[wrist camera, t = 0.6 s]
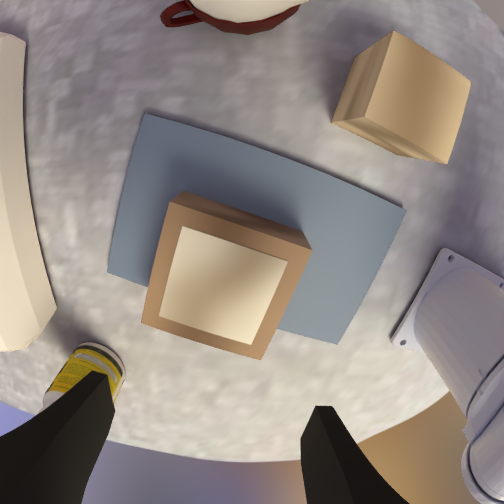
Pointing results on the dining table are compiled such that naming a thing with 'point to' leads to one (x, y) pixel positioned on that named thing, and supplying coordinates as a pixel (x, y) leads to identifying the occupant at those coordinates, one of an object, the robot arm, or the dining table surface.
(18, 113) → the crystal
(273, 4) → the cocoa
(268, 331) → the walnut base block
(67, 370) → the supplement bottle
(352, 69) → the maple block
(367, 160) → the dining table surface
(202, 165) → the board
